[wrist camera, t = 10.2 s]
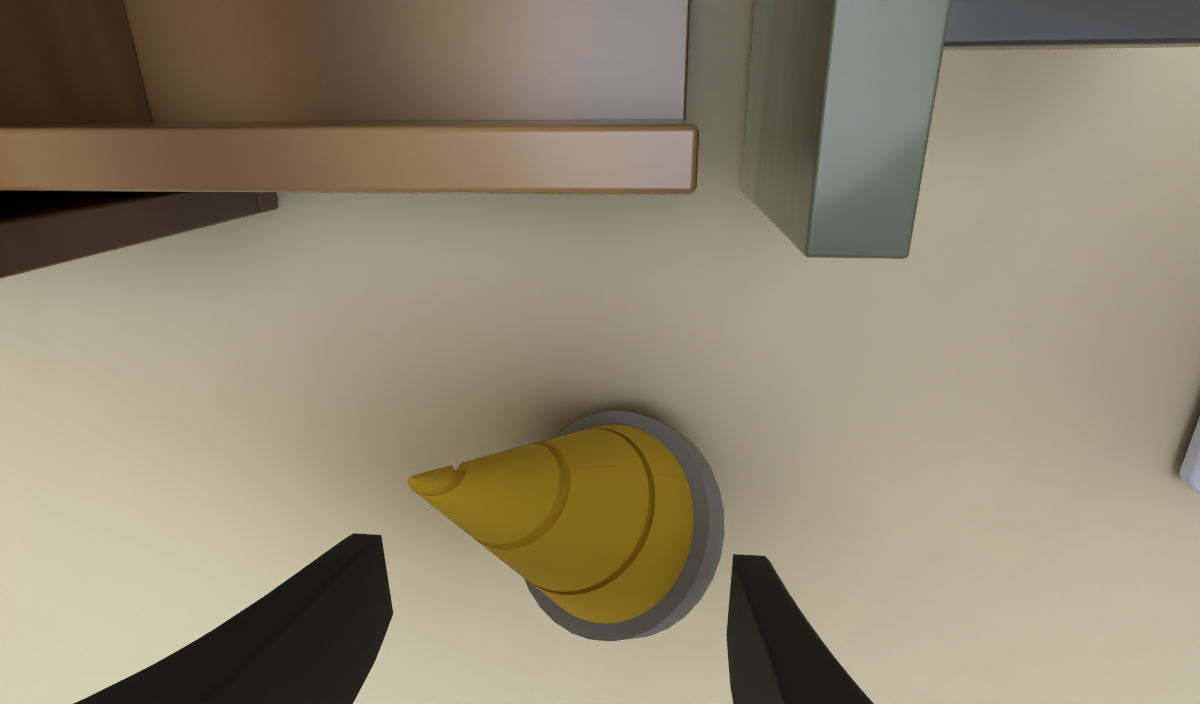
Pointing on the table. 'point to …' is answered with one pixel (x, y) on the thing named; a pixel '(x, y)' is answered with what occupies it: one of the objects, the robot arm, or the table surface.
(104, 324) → the table surface
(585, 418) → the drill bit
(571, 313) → the table surface
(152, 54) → the drawer
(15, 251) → the cabinet
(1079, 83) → the table surface
